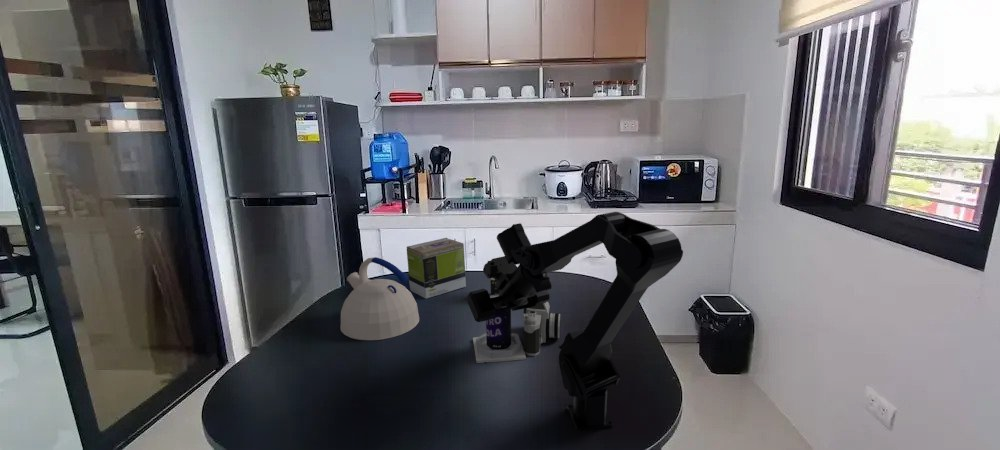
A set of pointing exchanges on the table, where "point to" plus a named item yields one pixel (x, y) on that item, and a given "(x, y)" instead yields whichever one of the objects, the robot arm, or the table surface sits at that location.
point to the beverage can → (499, 329)
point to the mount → (488, 355)
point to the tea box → (436, 267)
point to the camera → (539, 327)
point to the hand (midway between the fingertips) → (495, 313)
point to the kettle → (378, 305)
